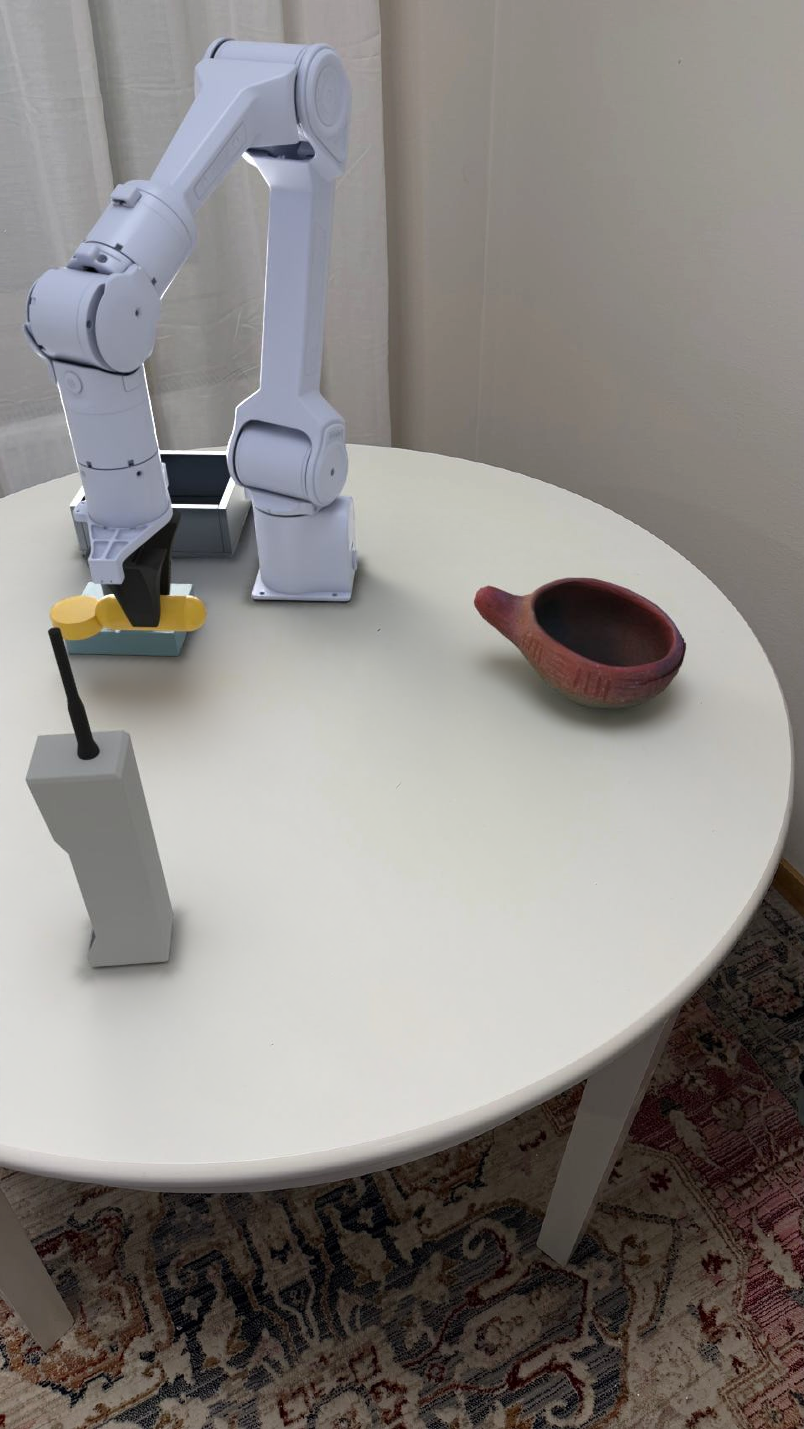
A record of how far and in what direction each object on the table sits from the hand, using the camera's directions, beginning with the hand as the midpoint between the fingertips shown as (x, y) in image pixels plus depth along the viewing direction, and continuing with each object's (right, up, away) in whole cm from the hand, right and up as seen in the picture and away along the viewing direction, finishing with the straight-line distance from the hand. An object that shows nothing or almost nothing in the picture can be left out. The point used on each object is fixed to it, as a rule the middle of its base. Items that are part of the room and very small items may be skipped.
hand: (150, 612), depth 79 cm
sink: (-5, +12, +28) cm, 31 cm away
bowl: (+35, -6, +6) cm, 36 cm away
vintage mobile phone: (+2, -23, -14) cm, 27 cm away
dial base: (-5, 0, +13) cm, 14 cm away
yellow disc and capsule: (-2, -1, +1) cm, 2 cm away
